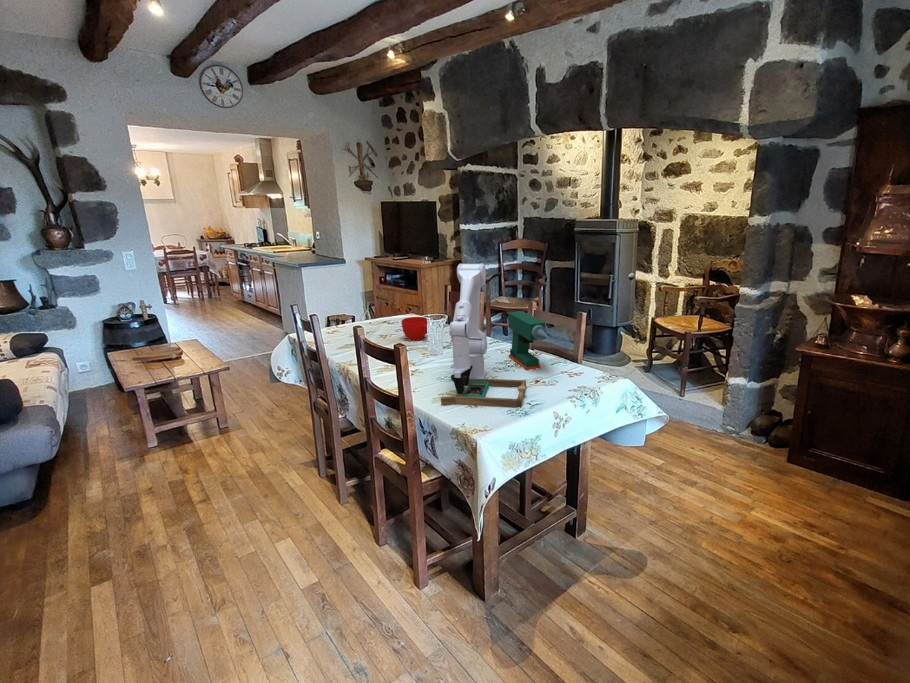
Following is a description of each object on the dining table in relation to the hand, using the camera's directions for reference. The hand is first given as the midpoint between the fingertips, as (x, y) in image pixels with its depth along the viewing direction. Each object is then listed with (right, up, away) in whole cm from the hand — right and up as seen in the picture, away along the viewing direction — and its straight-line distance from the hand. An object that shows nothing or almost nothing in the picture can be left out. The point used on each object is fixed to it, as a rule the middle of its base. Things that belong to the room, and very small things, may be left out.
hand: (462, 389), depth 177 cm
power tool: (+28, +7, +24) cm, 38 cm away
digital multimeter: (+5, -2, 0) cm, 5 cm away
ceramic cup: (-21, +18, +70) cm, 76 cm away
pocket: (+8, -2, -1) cm, 9 cm away
